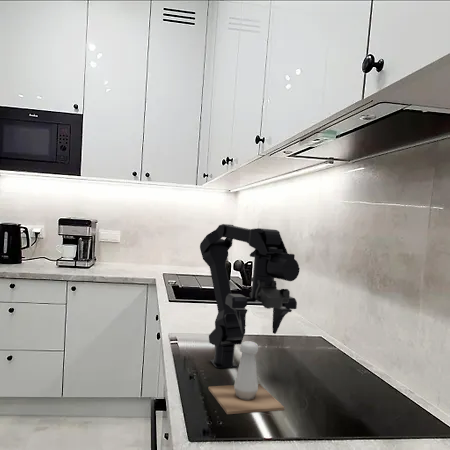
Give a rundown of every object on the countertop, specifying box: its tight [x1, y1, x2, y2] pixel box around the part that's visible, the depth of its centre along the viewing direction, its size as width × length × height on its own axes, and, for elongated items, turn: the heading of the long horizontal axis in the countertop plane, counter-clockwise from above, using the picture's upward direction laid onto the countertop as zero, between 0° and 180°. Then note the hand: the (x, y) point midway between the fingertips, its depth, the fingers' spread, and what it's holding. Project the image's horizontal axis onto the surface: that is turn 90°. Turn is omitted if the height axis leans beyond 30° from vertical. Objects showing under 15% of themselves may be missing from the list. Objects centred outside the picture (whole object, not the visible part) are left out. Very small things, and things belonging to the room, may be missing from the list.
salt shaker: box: [233, 340, 259, 400], centre depth 100 cm, size 6×6×13 cm
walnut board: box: [207, 383, 285, 415], centre depth 100 cm, size 14×14×1 cm
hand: (258, 333), depth 112 cm, fingers open, 9 cm apart
